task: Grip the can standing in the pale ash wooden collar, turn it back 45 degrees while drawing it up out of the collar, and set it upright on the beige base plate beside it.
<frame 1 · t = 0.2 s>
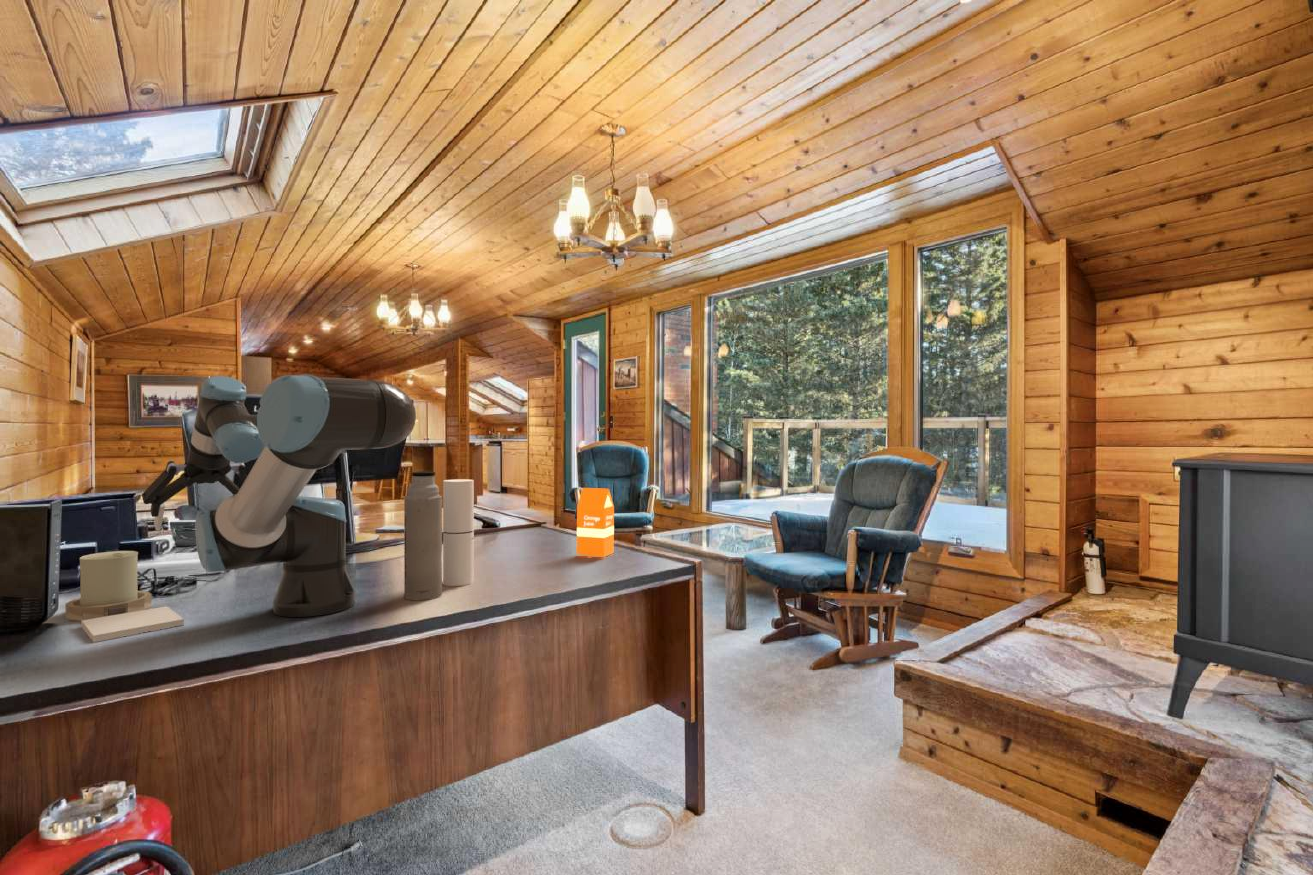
hand: (195, 524, 142), 16 cm above the table, tool tilted 35°, fingers open, 13 cm apart
collar: (109, 610, 131), on the table
thermos bottle: (423, 596, 144), on the table
can: (109, 612, 131), on the table
orange juice: (595, 555, 191), on the table
cylindrical container: (458, 583, 156), on the table
beige base plate: (132, 626, 121), on the table
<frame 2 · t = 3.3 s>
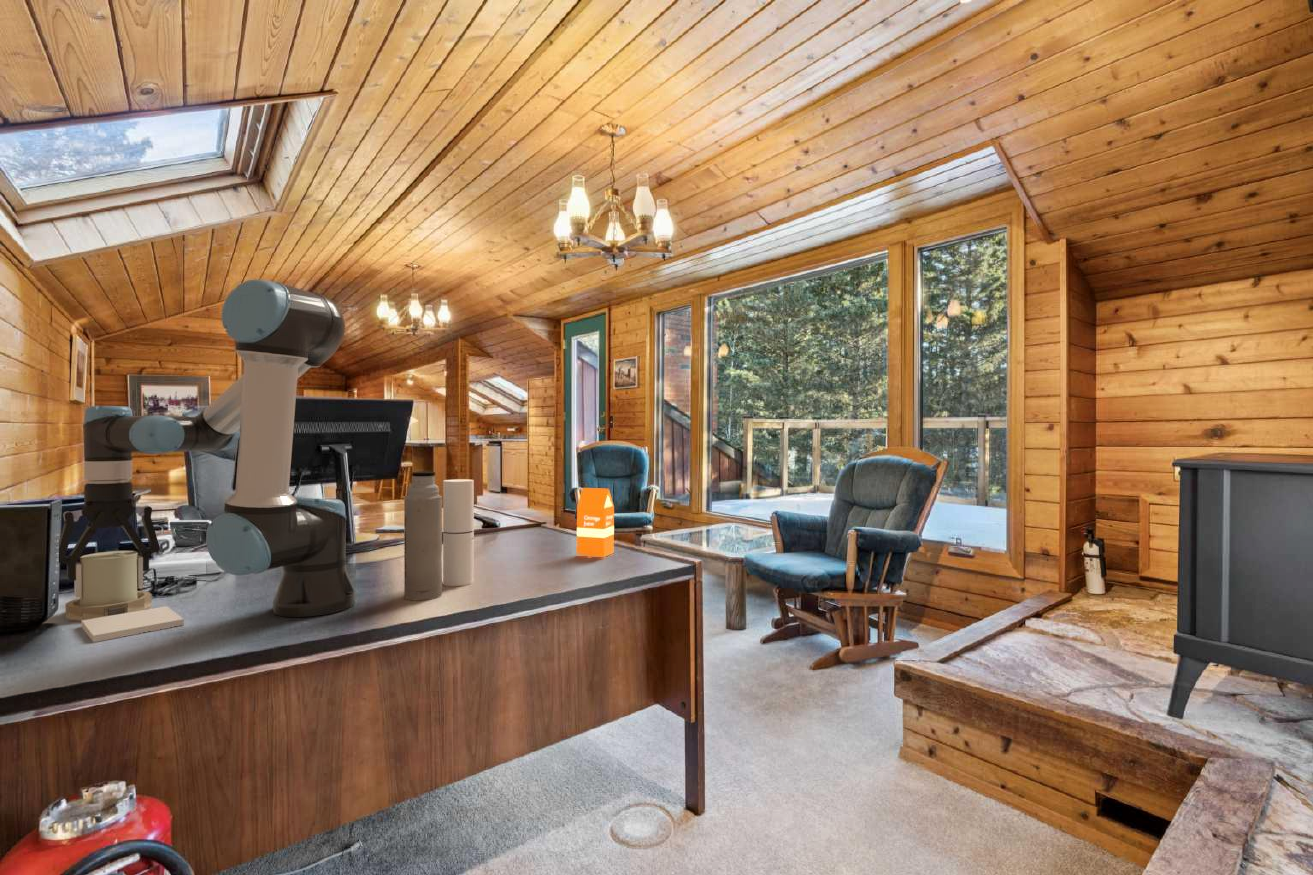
hand: (109, 591, 131), 4 cm above the table, tool pointing down, fingers closed on can, 9 cm apart
can: (109, 611, 131), on the table, touching gripper
everything else where it was.
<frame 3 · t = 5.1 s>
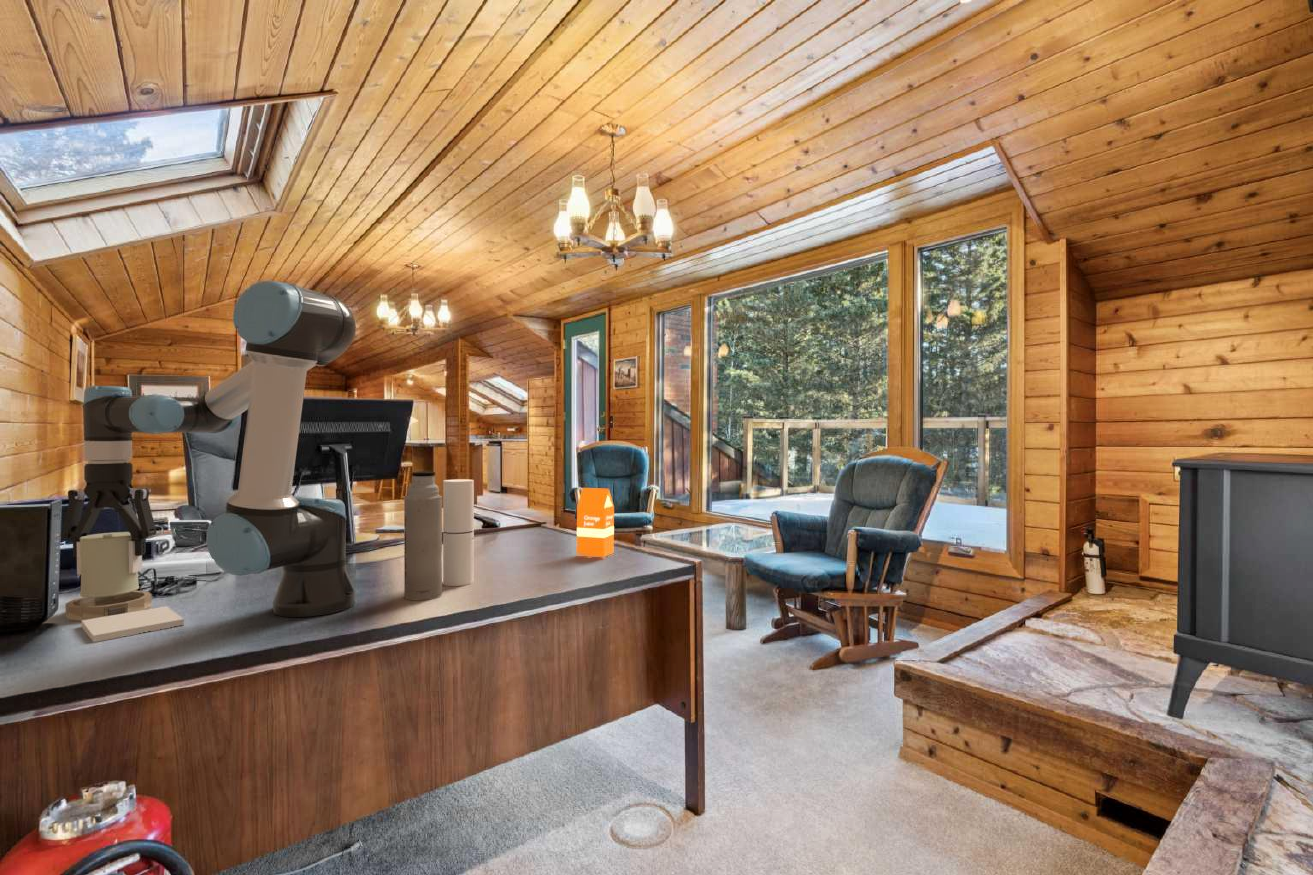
hand: (110, 572, 131), 8 cm above the table, tool pointing down, fingers closed on can, 9 cm apart
can: (110, 592, 131), point 4 cm above the table, touching gripper
everything else where it was.
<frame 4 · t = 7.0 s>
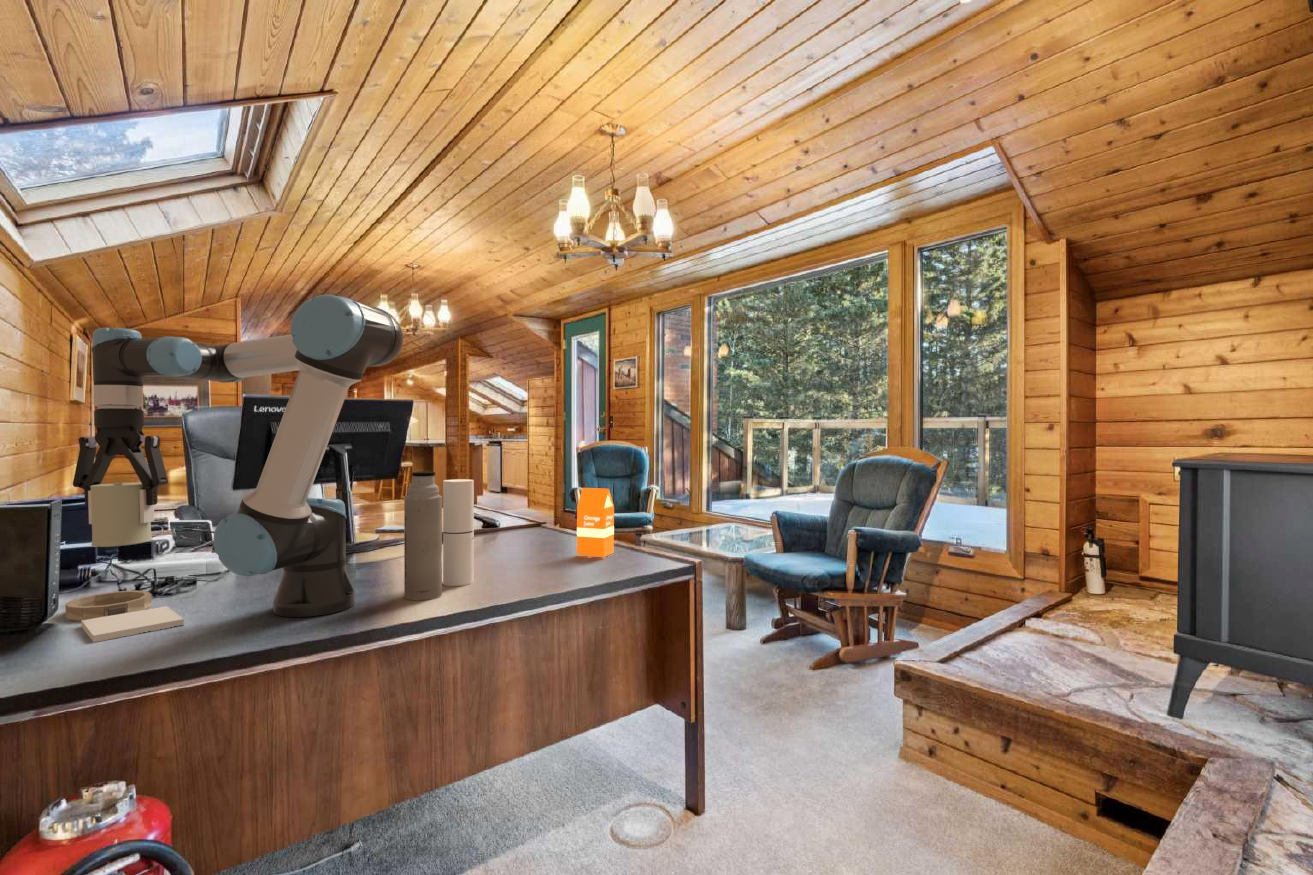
hand: (122, 522, 126), 19 cm above the table, tool pointing down, fingers closed on can, 9 cm apart
can: (122, 543, 126), point 15 cm above the table, touching gripper
everything else where it was.
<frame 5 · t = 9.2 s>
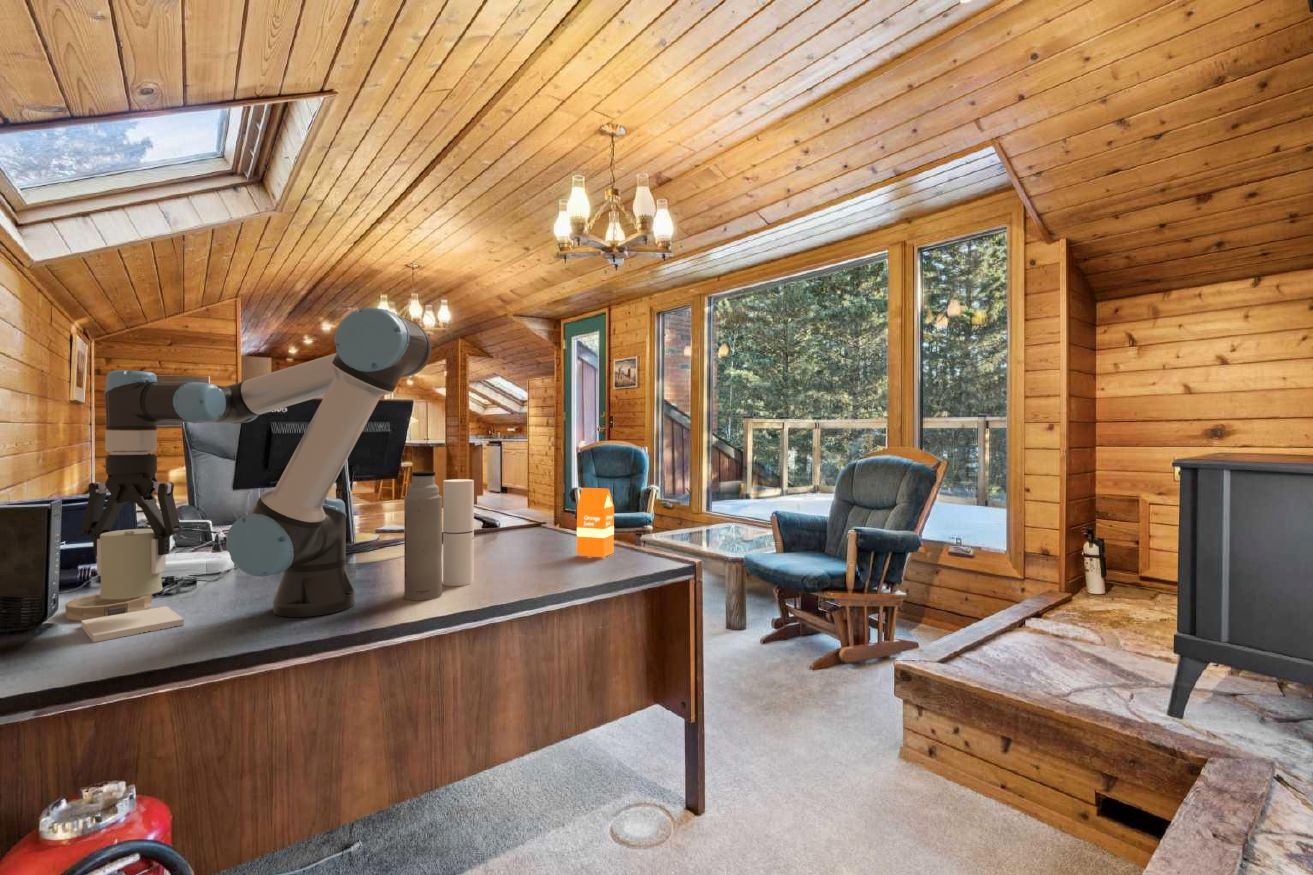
hand: (131, 572, 121), 10 cm above the table, tool pointing down, fingers closed on can, 9 cm apart
can: (131, 594, 121), point 6 cm above the table, touching gripper
everything else where it was.
when the fingers open (7 cm above the table, at t = 10.8 s): can drops 1 cm, resting on beige base plate.
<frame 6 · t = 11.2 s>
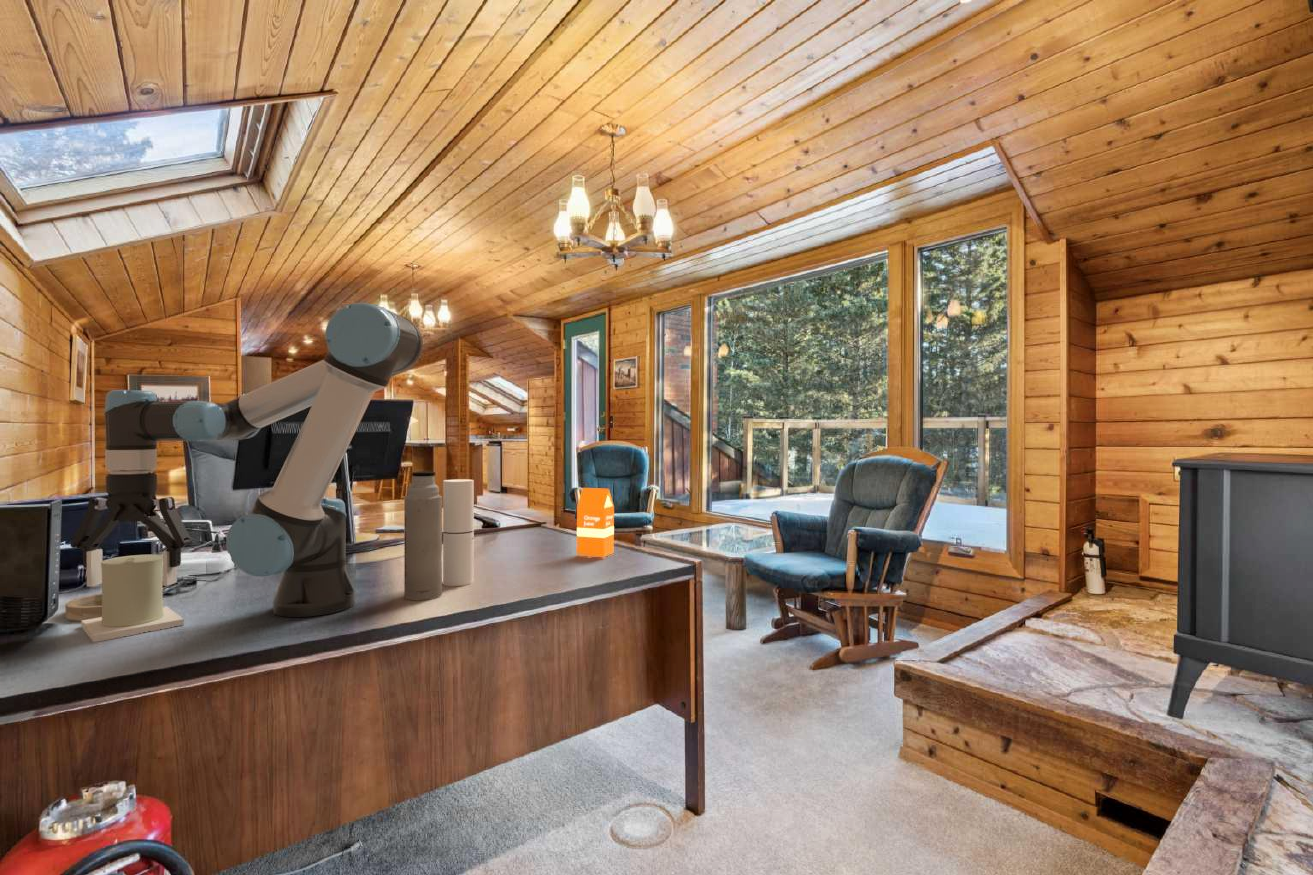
hand: (132, 584, 121), 8 cm above the table, tool pointing down, fingers open, 13 cm apart
can: (133, 620, 121), point 1 cm above the table, touching beige base plate
everything else where it was.
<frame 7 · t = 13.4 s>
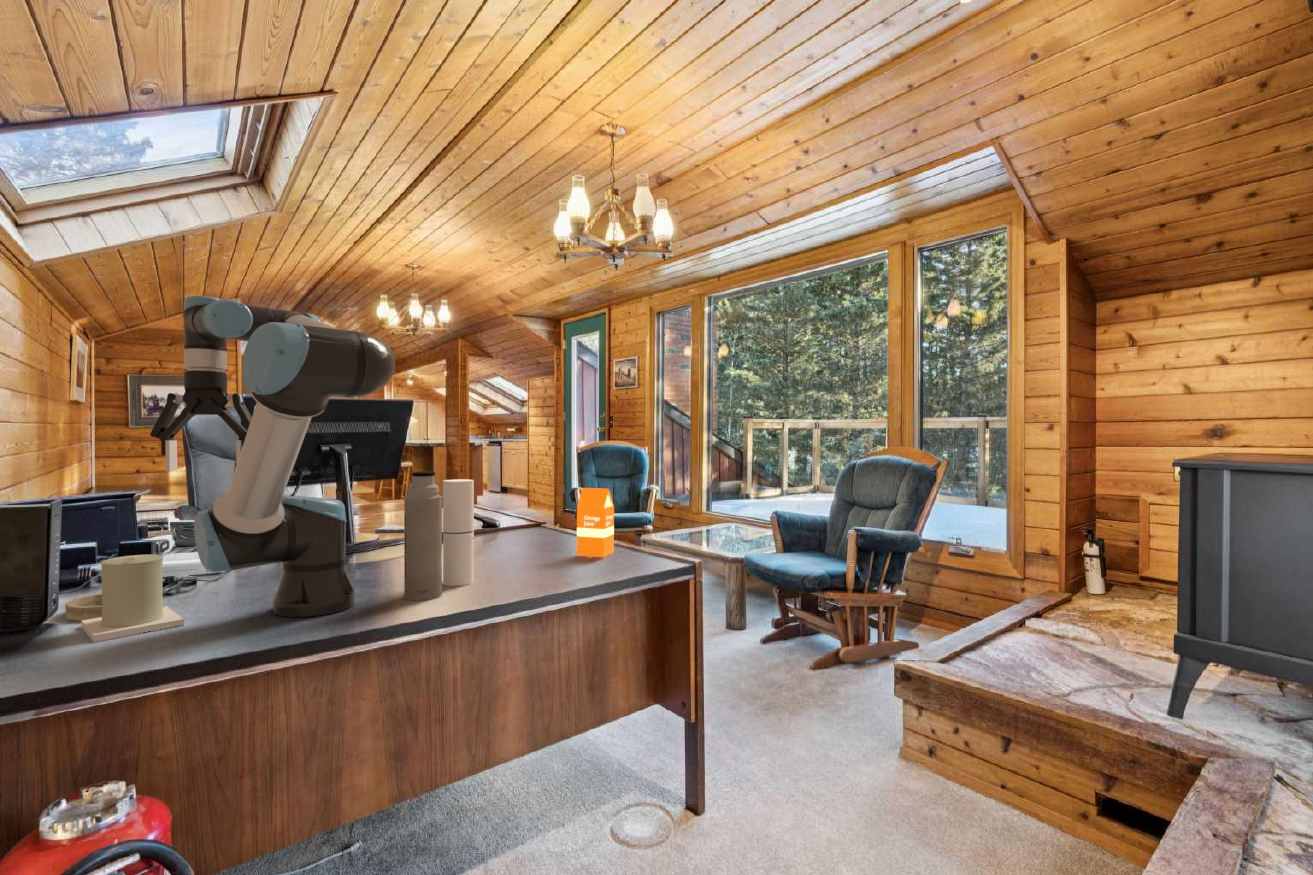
hand: (206, 471, 136), 28 cm above the table, tool pointing down, fingers open, 13 cm apart
nothing on the table moved.
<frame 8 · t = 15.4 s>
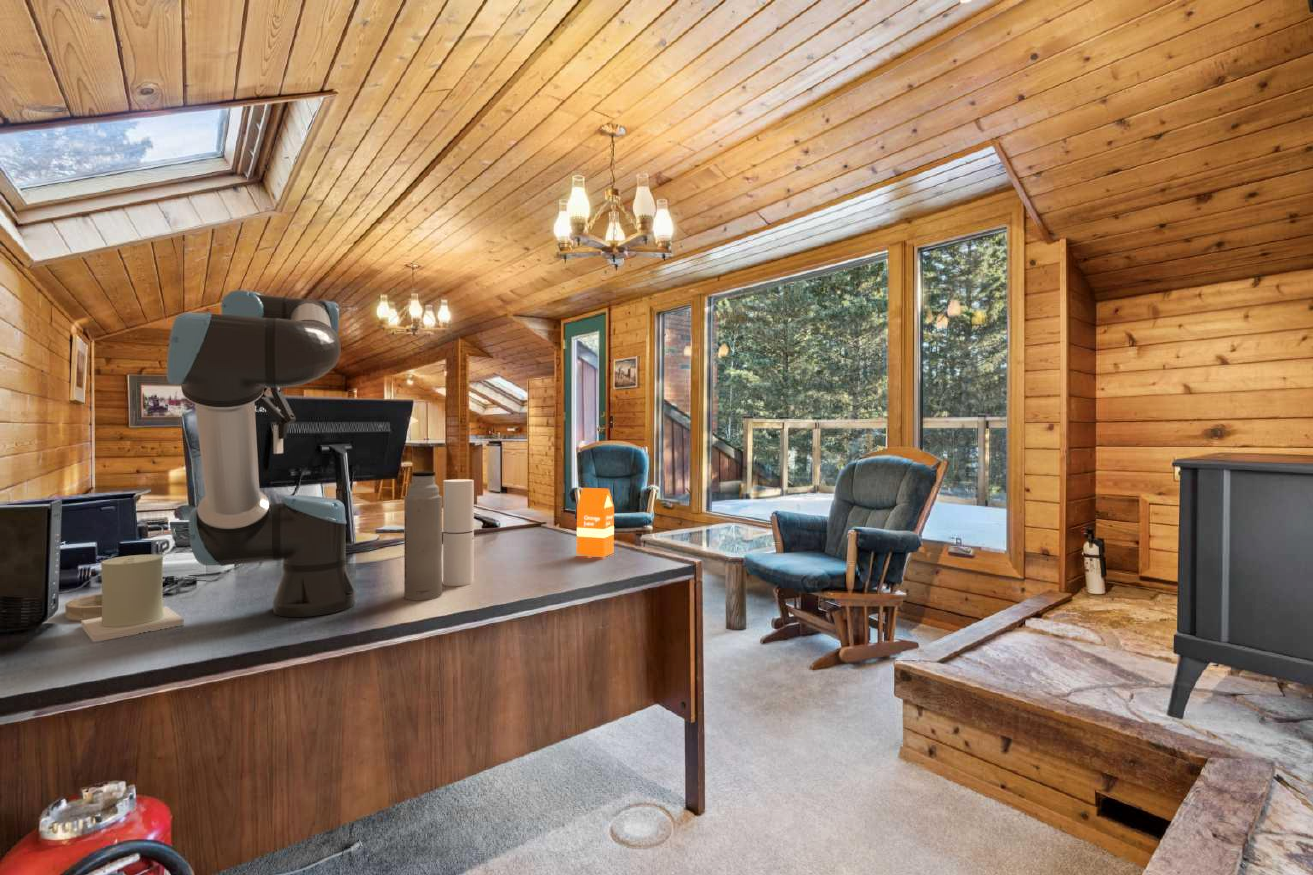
hand: (247, 453, 146), 32 cm above the table, tool pointing down, fingers open, 13 cm apart
nothing on the table moved.
at the end: can inside the target area (0.0 cm from its centre), point 1.0 cm above the table; can tilted 0°; the gripper is holding nothing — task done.
